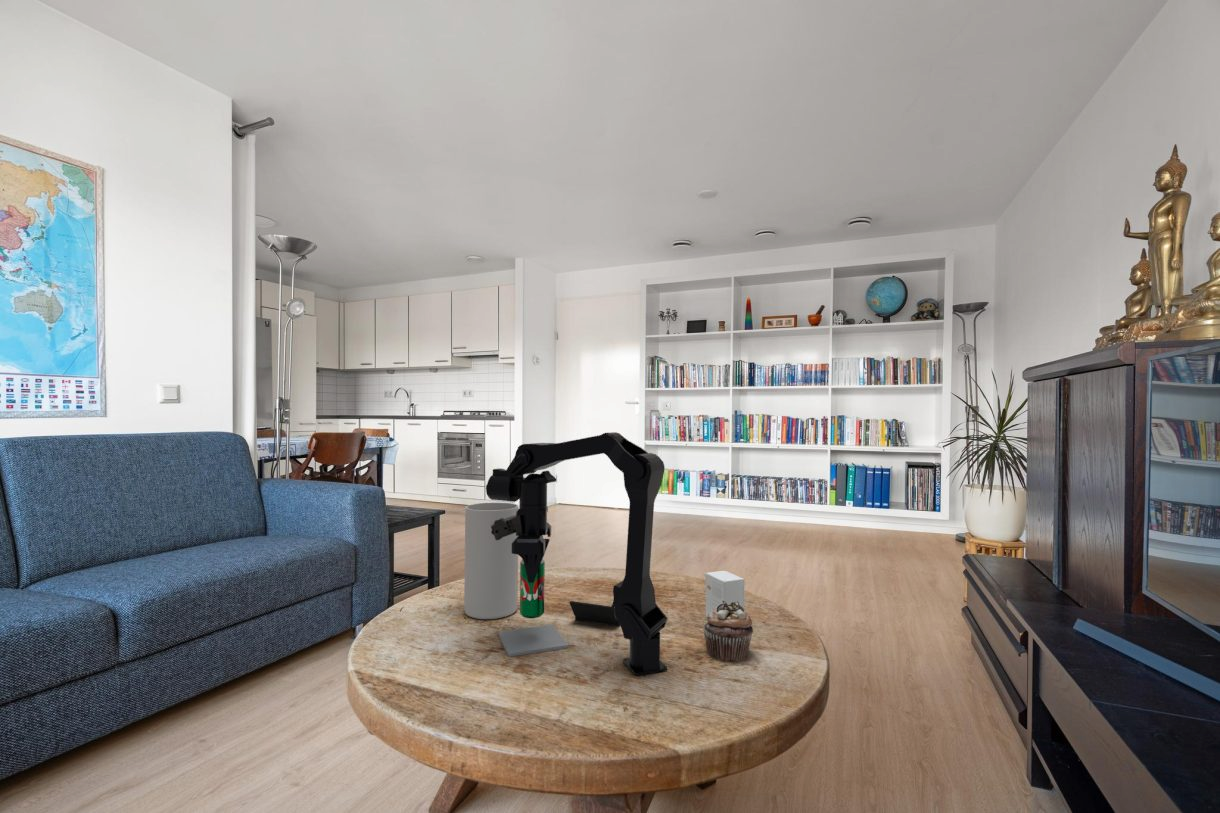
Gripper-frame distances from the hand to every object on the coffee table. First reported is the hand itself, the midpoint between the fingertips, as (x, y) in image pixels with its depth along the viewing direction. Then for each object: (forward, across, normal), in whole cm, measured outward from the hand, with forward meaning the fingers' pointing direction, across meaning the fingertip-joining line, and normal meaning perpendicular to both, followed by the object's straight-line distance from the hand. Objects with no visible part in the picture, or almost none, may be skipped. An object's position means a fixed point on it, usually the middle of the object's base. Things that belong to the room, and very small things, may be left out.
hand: (532, 578), depth 118 cm
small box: (+13, -11, +43) cm, 46 cm away
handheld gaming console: (+13, -12, +14) cm, 22 cm away
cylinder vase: (+13, -18, -12) cm, 25 cm away
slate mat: (+13, 0, 0) cm, 13 cm away
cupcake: (+13, +6, +39) cm, 42 cm away
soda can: (+8, 0, 0) cm, 8 cm away
